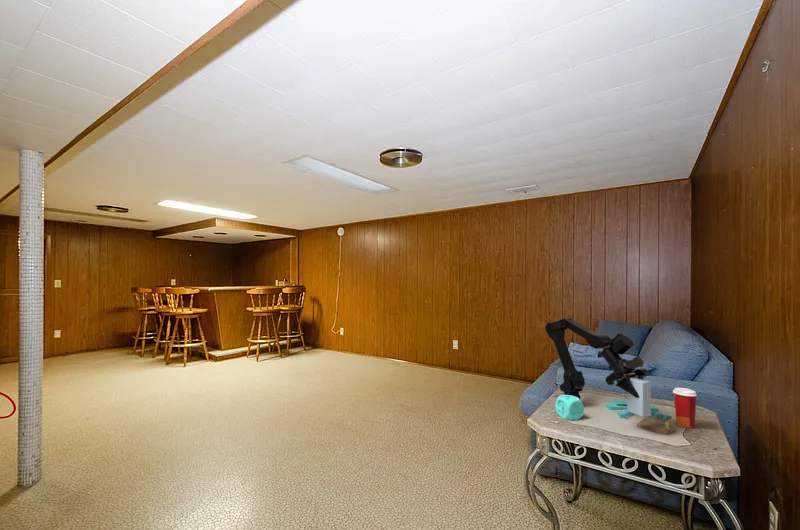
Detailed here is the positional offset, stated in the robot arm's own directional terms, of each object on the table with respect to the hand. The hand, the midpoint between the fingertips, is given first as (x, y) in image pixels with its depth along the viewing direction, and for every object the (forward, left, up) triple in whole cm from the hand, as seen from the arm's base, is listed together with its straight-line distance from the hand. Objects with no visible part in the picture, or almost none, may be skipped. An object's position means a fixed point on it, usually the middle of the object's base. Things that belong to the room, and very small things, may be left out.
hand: (642, 396), depth 137 cm
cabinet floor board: (+6, +6, -13) cm, 16 cm away
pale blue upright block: (-1, +1, -7) cm, 7 cm away
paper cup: (+18, +13, -14) cm, 26 cm away
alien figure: (+3, +25, -14) cm, 29 cm away
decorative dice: (-25, +8, -14) cm, 29 cm away
